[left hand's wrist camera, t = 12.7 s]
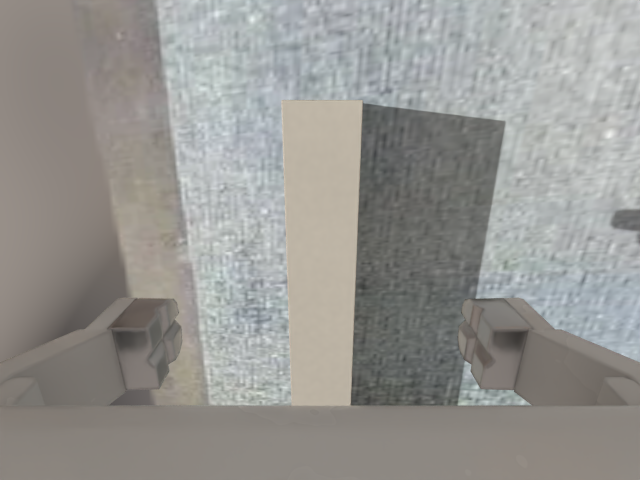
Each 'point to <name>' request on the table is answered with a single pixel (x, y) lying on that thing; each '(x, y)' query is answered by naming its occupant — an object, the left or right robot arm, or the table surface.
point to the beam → (321, 244)
